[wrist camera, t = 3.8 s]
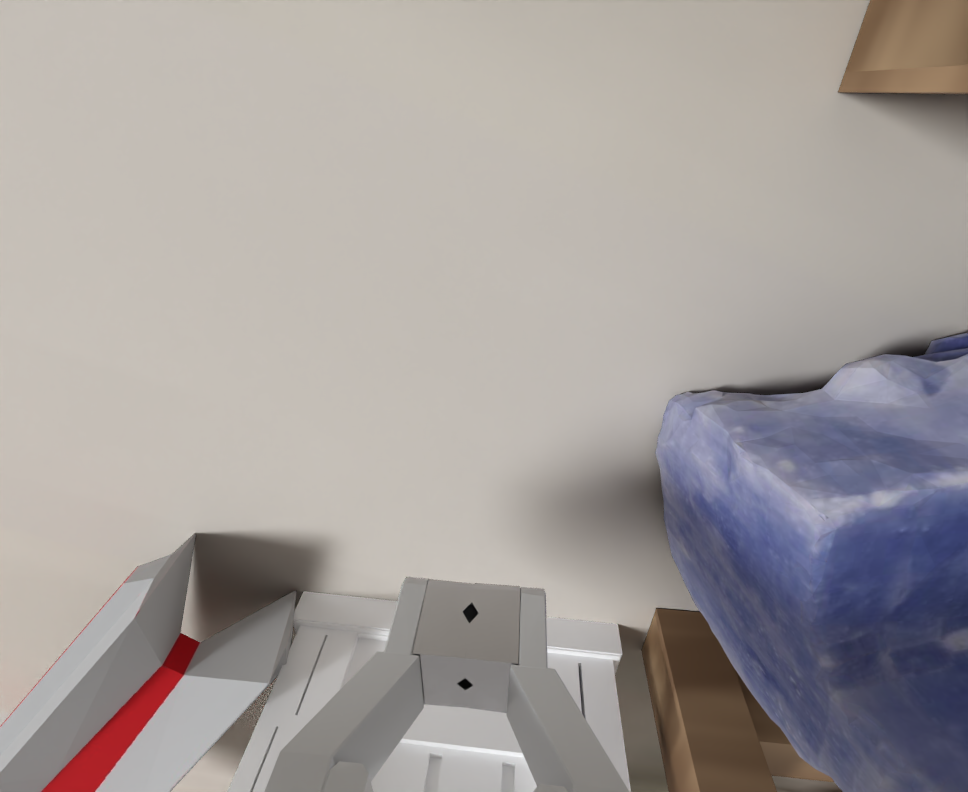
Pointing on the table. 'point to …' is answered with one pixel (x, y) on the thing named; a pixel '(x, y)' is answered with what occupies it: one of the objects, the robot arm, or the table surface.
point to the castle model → (438, 729)
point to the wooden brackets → (687, 635)
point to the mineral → (837, 559)
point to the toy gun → (141, 690)
